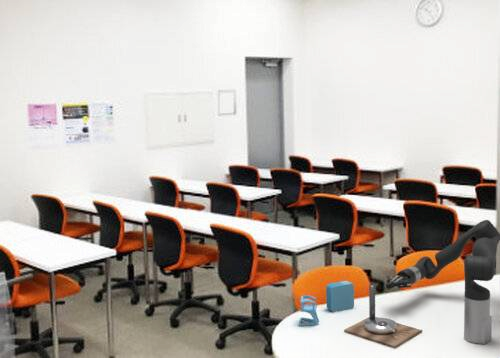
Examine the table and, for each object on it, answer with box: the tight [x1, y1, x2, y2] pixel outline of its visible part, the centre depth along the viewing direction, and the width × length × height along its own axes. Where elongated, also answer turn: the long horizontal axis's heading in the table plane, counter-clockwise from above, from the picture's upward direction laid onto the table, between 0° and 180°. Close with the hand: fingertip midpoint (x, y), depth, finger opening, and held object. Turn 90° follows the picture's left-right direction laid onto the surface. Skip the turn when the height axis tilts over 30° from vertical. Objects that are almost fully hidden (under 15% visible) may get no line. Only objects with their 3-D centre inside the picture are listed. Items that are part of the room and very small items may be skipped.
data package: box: [325, 280, 355, 313], centre depth 264 cm, size 12×4×12 cm, turn 112°
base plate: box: [343, 316, 423, 349], centre depth 238 cm, size 24×20×1 cm
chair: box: [298, 294, 320, 327], centre depth 249 cm, size 8×8×12 cm
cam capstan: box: [364, 284, 398, 334], centre depth 237 cm, size 17×13×16 cm
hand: (387, 286), depth 252 cm, fingers closed
